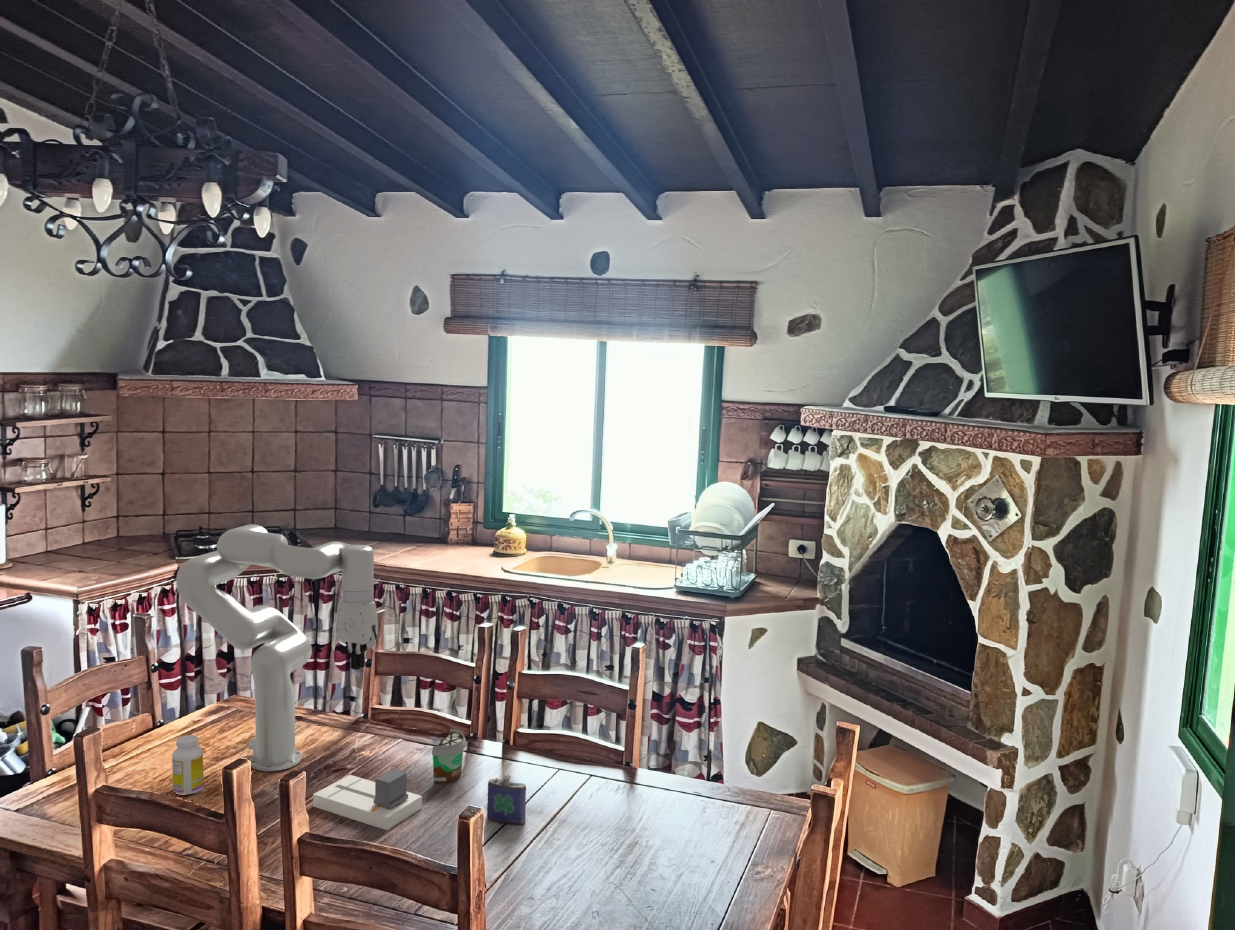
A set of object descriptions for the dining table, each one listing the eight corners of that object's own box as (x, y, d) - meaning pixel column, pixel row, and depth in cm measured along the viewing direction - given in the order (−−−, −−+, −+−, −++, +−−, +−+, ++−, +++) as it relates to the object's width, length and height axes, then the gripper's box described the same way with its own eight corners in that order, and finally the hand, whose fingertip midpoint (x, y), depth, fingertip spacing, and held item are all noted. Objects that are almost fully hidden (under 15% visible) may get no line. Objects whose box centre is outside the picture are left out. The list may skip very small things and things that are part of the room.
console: (313, 806, 216) (313, 793, 216) (349, 786, 227) (349, 774, 226) (387, 830, 206) (387, 817, 206) (421, 808, 217) (421, 795, 217)
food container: (455, 789, 227) (455, 749, 226) (431, 786, 228) (431, 747, 227) (472, 768, 239) (473, 730, 238) (450, 765, 240) (450, 728, 239)
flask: (527, 821, 212) (527, 776, 211) (522, 827, 210) (523, 781, 208) (489, 814, 215) (490, 770, 214) (484, 820, 212) (484, 775, 211)
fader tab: (373, 803, 212) (373, 778, 211) (391, 793, 217) (391, 768, 216) (390, 808, 209) (390, 783, 209) (408, 798, 215) (408, 773, 214)
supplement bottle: (205, 783, 226) (204, 732, 225) (202, 795, 220) (201, 742, 219) (175, 786, 224) (174, 734, 223) (170, 798, 218) (169, 745, 217)
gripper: (324, 594, 230) (324, 666, 232) (370, 603, 223) (370, 677, 225) (345, 588, 237) (345, 658, 239) (391, 596, 230) (391, 669, 232)
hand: (357, 667), depth 232 cm, fingers closed
